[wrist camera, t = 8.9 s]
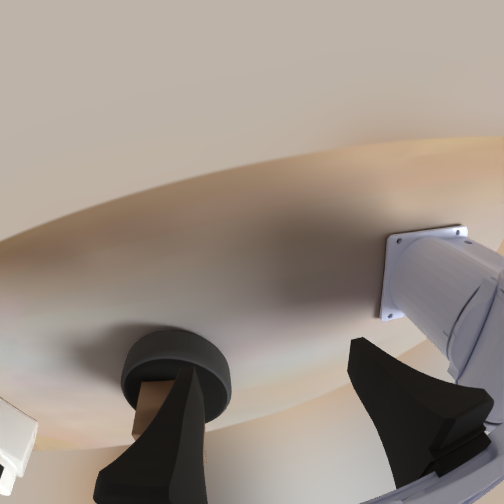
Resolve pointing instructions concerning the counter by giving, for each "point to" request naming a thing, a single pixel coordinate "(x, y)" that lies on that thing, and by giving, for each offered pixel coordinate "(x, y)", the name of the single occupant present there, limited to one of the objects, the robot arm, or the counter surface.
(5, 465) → the medicine bottle
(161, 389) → the walnut block
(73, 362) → the counter surface
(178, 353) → the smart speaker
